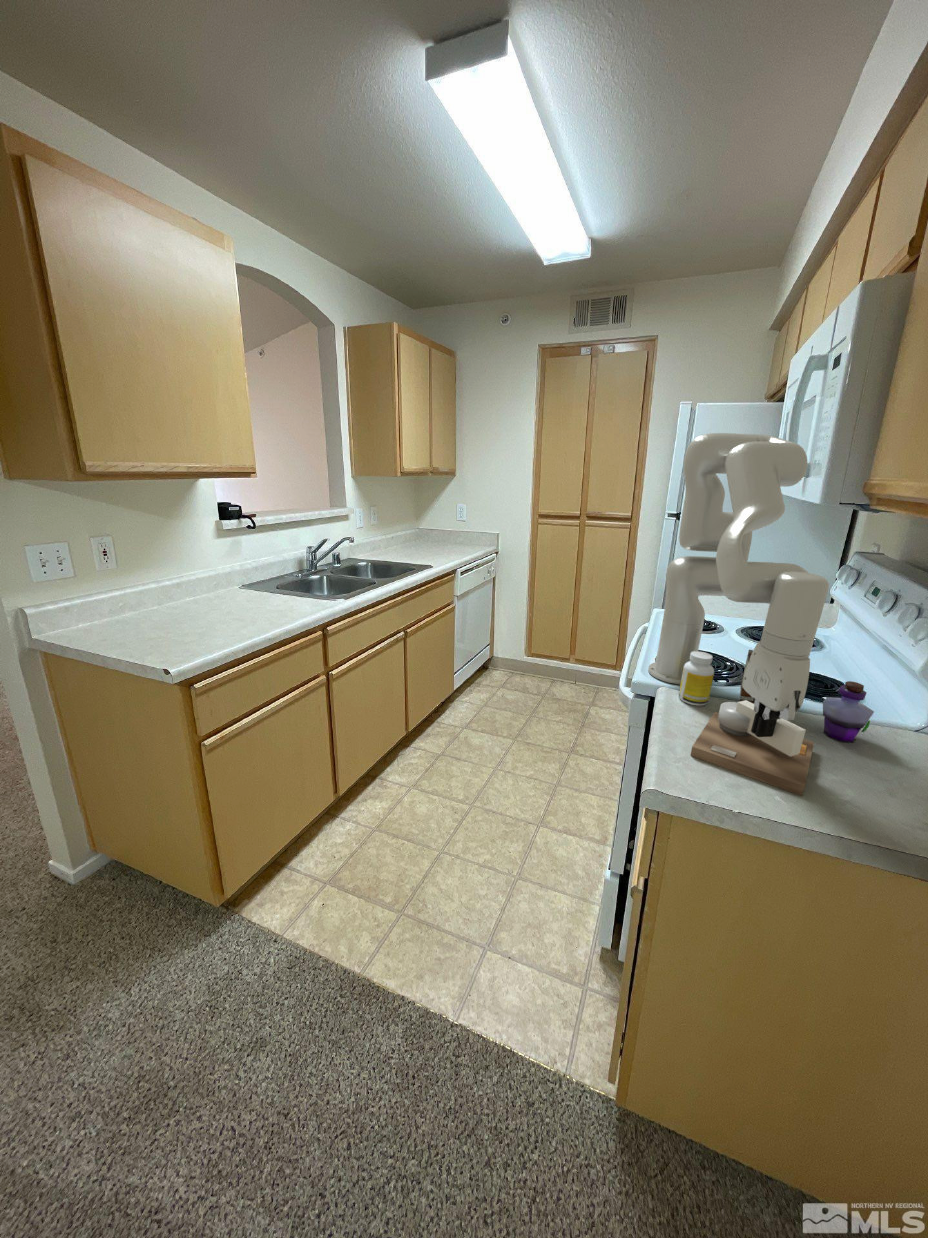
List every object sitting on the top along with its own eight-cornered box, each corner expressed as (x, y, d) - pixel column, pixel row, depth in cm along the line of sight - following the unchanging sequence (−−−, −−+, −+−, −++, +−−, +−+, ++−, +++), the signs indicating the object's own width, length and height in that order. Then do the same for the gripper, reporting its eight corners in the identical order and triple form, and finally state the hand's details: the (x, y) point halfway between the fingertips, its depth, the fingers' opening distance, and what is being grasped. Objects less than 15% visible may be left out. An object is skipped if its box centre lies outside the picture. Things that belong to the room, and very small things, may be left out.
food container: (769, 711, 111) (779, 671, 108) (738, 704, 114) (748, 665, 111) (768, 691, 122) (777, 654, 119) (740, 685, 125) (748, 648, 121)
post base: (713, 720, 107) (715, 707, 106) (811, 751, 96) (815, 737, 95) (690, 755, 93) (693, 741, 92) (802, 796, 83) (806, 781, 82)
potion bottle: (870, 751, 97) (888, 697, 93) (818, 740, 100) (833, 687, 96) (859, 731, 104) (875, 680, 100) (811, 721, 107) (825, 671, 104)
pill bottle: (711, 708, 112) (721, 661, 108) (681, 705, 113) (690, 658, 109) (703, 695, 118) (712, 651, 114) (675, 692, 119) (683, 648, 115)
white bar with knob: (709, 718, 101) (714, 696, 99) (734, 712, 103) (738, 691, 102) (781, 759, 87) (788, 734, 86) (807, 751, 90) (814, 727, 88)
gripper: (738, 628, 92) (718, 714, 98) (797, 660, 78) (770, 759, 84) (775, 628, 92) (753, 713, 98) (840, 660, 78) (810, 757, 84)
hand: (761, 734), depth 91 cm, fingers closed
